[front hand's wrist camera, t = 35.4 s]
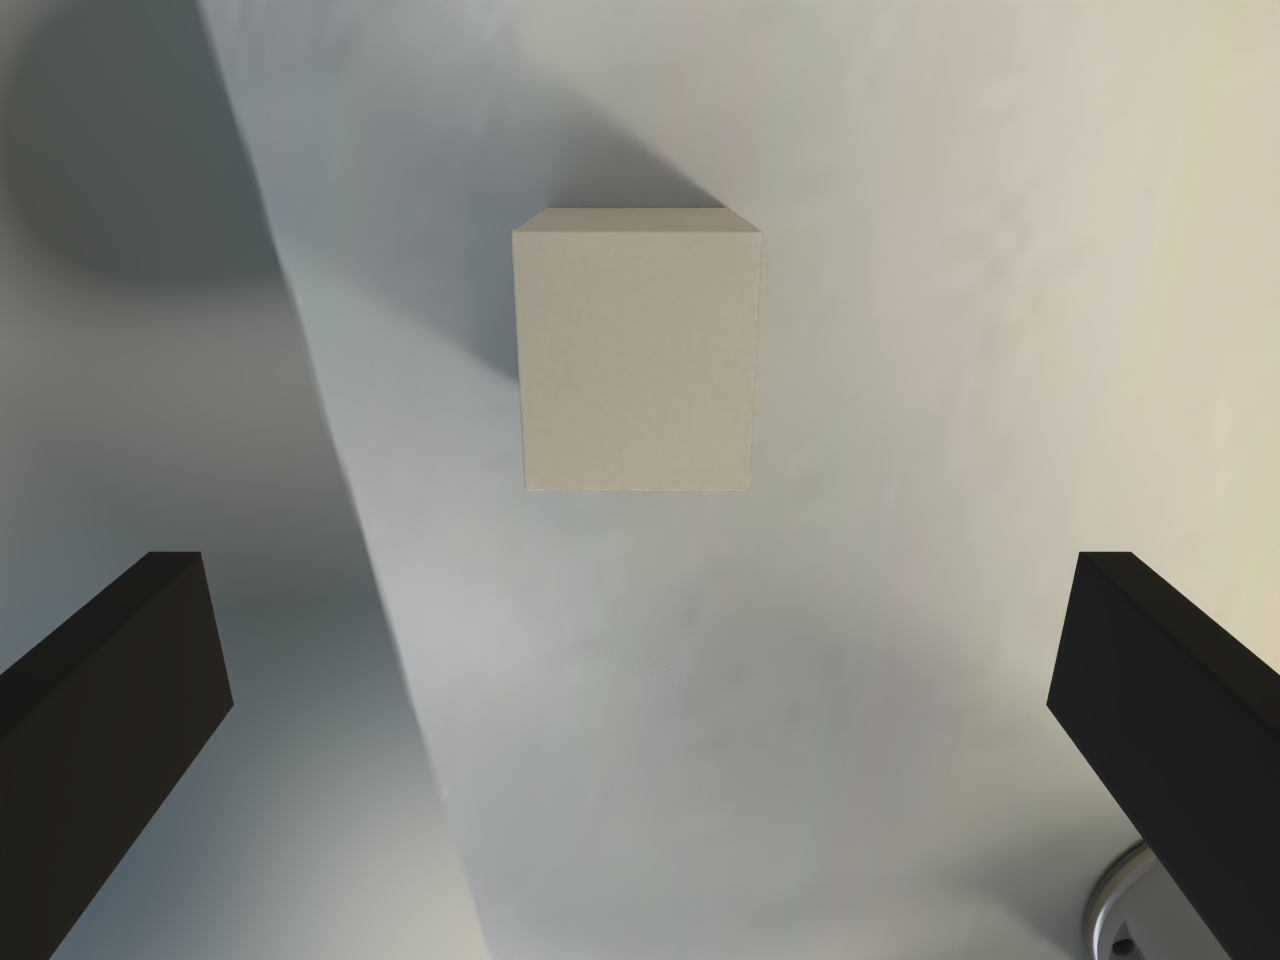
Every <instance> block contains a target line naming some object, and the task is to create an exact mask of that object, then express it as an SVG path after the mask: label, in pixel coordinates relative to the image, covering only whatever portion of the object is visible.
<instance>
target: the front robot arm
mask: <svg viewBox="0 0 1280 960" xmlns="http://www.w3.org/2000/svg"><path fill="white" fill-rule="evenodd" d="M233 705H234V704H233V699H232V695H231V690H230V686H229V681H228V676H227V672H226V667H225V662H224V658H223V653H222V649H221V644H220V639H219V635H218V630H217V626H216V621H215V617H214V612H213V607H212V602H211V598H210V593H209V589H208V584H207V579H206V575H205V570H204V566H203V561H202V556H201V552H148V553H147V554H146V555H145V556H144V557H142V558H141V559H140V560H139V561H138V562H136V563H135V564H134V565H133V566H132V567H130V568H129V569H128V570H127V571H125V572H124V573H123V574H122V575H121V576H119V577H118V578H117V579H116V580H115V581H113V582H112V583H111V584H110V585H109V586H107V587H106V588H105V589H104V590H103V591H101V592H100V593H99V594H98V595H96V596H95V597H94V598H93V599H92V600H90V601H89V602H88V603H87V604H86V605H84V606H83V607H82V608H81V609H80V610H78V611H77V612H76V613H75V614H74V615H72V616H71V617H70V618H69V619H67V620H66V621H65V622H64V623H63V624H61V625H60V626H59V627H58V628H57V629H55V630H54V631H53V632H52V633H51V634H49V635H48V636H47V637H46V638H45V639H43V640H42V641H41V642H40V643H39V644H37V645H36V646H35V647H34V648H33V649H31V650H30V651H29V652H28V653H26V654H25V655H24V656H23V657H22V658H20V659H19V660H18V661H17V662H16V663H14V664H13V665H12V666H11V667H10V668H8V669H7V670H6V671H5V672H4V673H2V674H1V675H0V960H49V959H50V957H51V956H52V954H53V953H54V952H55V950H56V949H57V948H58V946H59V945H60V943H61V942H62V941H63V939H64V938H65V937H66V935H67V934H68V932H69V931H70V930H71V928H72V927H73V926H74V924H75V923H76V921H77V920H78V919H79V917H80V916H81V914H82V913H83V912H84V910H85V909H86V908H87V906H88V905H89V903H90V902H91V901H92V899H93V898H94V897H95V895H96V894H97V892H98V891H99V890H100V888H101V887H102V885H103V884H104V883H105V881H106V880H107V879H108V877H109V876H110V875H111V873H112V872H113V870H114V869H115V868H116V866H117V865H118V864H119V862H120V861H121V859H122V858H123V857H124V855H125V854H126V853H127V851H128V850H129V848H130V847H131V846H132V844H133V843H134V841H135V840H136V839H137V837H138V836H139V835H140V833H141V832H142V830H143V829H144V828H145V826H146V825H147V824H148V822H149V821H150V819H151V818H152V817H153V815H154V814H155V813H156V811H157V810H158V808H159V807H160V806H161V804H162V803H163V802H164V800H165V799H166V797H167V796H168V795H169V793H170V792H171V791H172V789H173V788H174V786H175V785H176V784H177V782H178V781H179V779H180V778H181V777H182V775H183V774H184V773H185V771H186V770H187V769H188V767H189V766H190V764H191V763H192V762H193V760H194V759H195V758H196V756H197V755H198V753H199V752H200V751H201V749H202V748H203V746H204V745H205V744H206V742H207V741H208V740H209V738H210V737H211V735H212V734H213V733H214V731H215V730H216V729H217V727H218V726H219V724H220V723H221V722H222V720H223V719H224V717H225V716H226V715H227V713H228V712H229V711H230V709H231V708H232V707H233ZM1046 705H1047V707H1048V708H1049V709H1050V711H1051V712H1052V713H1053V715H1054V716H1055V718H1056V719H1057V720H1058V722H1059V723H1060V724H1061V726H1062V727H1063V729H1064V730H1065V731H1066V733H1067V734H1068V735H1069V737H1070V738H1071V740H1072V741H1073V742H1074V744H1075V745H1076V746H1077V748H1078V749H1079V751H1080V752H1081V753H1082V755H1083V756H1084V758H1085V759H1086V760H1087V762H1088V763H1089V764H1090V766H1091V767H1092V769H1093V770H1094V771H1095V773H1096V774H1097V775H1098V777H1099V778H1100V780H1101V781H1102V782H1103V784H1104V785H1105V786H1106V788H1107V789H1108V791H1109V792H1110V793H1111V795H1112V796H1113V797H1114V799H1115V800H1116V802H1117V803H1118V804H1119V806H1120V807H1121V808H1122V810H1123V811H1124V813H1125V814H1126V815H1127V817H1128V818H1129V819H1130V821H1131V822H1132V824H1133V825H1134V826H1135V828H1136V829H1137V831H1138V832H1139V833H1140V835H1141V836H1142V837H1143V839H1144V840H1145V843H1143V844H1142V845H1140V846H1139V847H1137V848H1136V849H1134V850H1133V851H1131V852H1130V853H1129V854H1128V855H1126V856H1125V857H1124V858H1122V859H1121V860H1120V861H1119V862H1118V863H1117V864H1116V865H1115V866H1114V867H1113V868H1112V869H1111V870H1110V871H1109V872H1108V873H1107V874H1106V876H1105V877H1104V878H1103V880H1102V881H1101V882H1100V884H1099V885H1098V887H1097V888H1096V890H1095V891H1094V893H1093V895H1092V897H1091V899H1090V902H1089V904H1088V907H1087V910H1086V914H1085V919H1084V940H1085V944H1086V948H1087V950H1088V953H1089V955H1090V957H1091V959H1092V960H1280V675H1279V674H1278V673H1277V672H1275V671H1274V670H1273V669H1272V668H1270V667H1269V666H1268V665H1267V664H1266V663H1264V662H1263V661H1262V660H1261V659H1260V658H1258V657H1257V656H1256V655H1255V654H1254V653H1252V652H1251V651H1250V650H1249V649H1248V648H1246V647H1245V646H1244V645H1243V644H1241V643H1240V642H1239V641H1238V640H1237V639H1235V638H1234V637H1233V636H1232V635H1231V634H1229V633H1228V632H1227V631H1226V630H1225V629H1223V628H1222V627H1221V626H1220V625H1219V624H1217V623H1216V622H1215V621H1214V620H1213V619H1211V618H1210V617H1209V616H1208V615H1206V614H1205V613H1204V612H1203V611H1202V610H1200V609H1199V608H1198V607H1197V606H1196V605H1194V604H1193V603H1192V602H1191V601H1190V600H1188V599H1187V598H1186V597H1185V596H1184V595H1182V594H1181V593H1180V592H1179V591H1177V590H1176V589H1175V588H1174V587H1173V586H1171V585H1170V584H1169V583H1168V582H1167V581H1165V580H1164V579H1163V578H1162V577H1161V576H1159V575H1158V574H1157V573H1156V572H1155V571H1153V570H1152V569H1151V568H1150V567H1149V566H1147V565H1146V564H1145V563H1144V562H1142V561H1141V560H1140V559H1139V558H1138V557H1136V556H1135V555H1134V554H1133V553H1132V552H1079V556H1078V561H1077V566H1076V570H1075V575H1074V579H1073V584H1072V589H1071V593H1070V598H1069V602H1068V607H1067V612H1066V616H1065V621H1064V626H1063V630H1062V635H1061V639H1060V644H1059V649H1058V653H1057V658H1056V662H1055V667H1054V672H1053V676H1052V681H1051V686H1050V690H1049V695H1048V699H1047V704H1046Z"/></svg>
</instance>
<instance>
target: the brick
mask: <svg viewBox="0 0 1280 960" xmlns="http://www.w3.org/2000/svg"><path fill="white" fill-rule="evenodd" d="M511 243H512V262H513V280H514V298H515V316H516V335H517V353H518V371H519V389H520V408H521V426H522V444H523V462H524V481H525V489H526V490H748V489H749V477H750V458H751V439H752V419H753V400H754V381H755V362H756V342H757V323H758V304H759V284H760V265H761V246H762V231H761V230H759V229H758V228H756V227H755V226H753V225H752V224H750V223H749V222H748V221H746V220H745V219H743V218H742V217H740V216H739V215H737V214H736V213H735V212H733V211H732V210H730V209H729V208H546V209H545V210H543V211H542V212H540V213H538V214H537V215H535V216H534V217H532V218H531V219H529V220H528V221H526V222H525V223H523V224H522V225H520V226H519V227H517V228H516V229H514V230H513V231H512V232H511Z"/></svg>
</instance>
